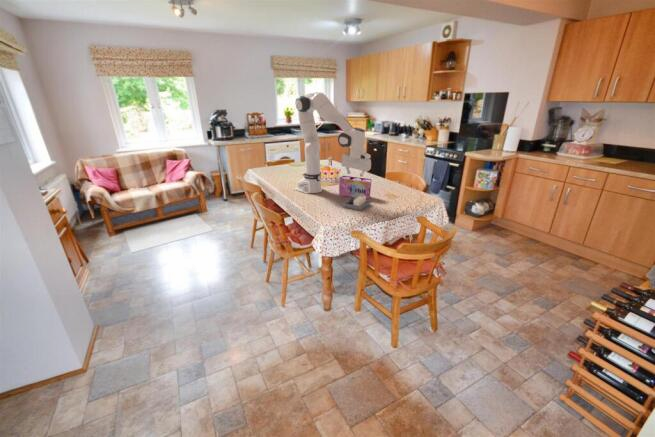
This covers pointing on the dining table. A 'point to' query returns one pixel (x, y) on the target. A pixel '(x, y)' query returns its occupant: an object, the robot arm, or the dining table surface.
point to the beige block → (359, 200)
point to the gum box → (354, 186)
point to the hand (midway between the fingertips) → (355, 175)
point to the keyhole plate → (350, 205)
